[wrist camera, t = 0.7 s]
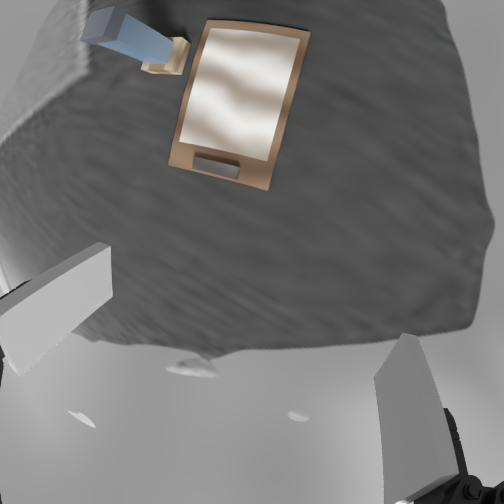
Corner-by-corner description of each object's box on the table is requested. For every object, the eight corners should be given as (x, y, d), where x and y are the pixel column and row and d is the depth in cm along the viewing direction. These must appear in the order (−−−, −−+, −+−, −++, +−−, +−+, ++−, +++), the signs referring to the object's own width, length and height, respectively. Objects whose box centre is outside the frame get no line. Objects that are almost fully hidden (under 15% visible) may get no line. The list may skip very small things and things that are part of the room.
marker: (159, 45, 28) (91, 12, 15) (180, 45, 28) (115, 5, 14) (152, 66, 29) (79, 40, 16) (173, 67, 29) (103, 35, 16)
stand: (161, 44, 29) (150, 38, 26) (191, 44, 29) (181, 37, 26) (152, 73, 31) (140, 69, 28) (181, 74, 30) (171, 69, 28)
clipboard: (208, 21, 27) (205, 17, 26) (310, 34, 25) (310, 29, 24) (170, 165, 35) (165, 165, 34) (268, 190, 34) (266, 191, 33)
